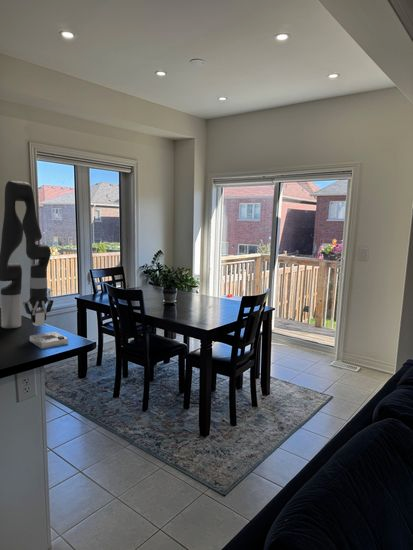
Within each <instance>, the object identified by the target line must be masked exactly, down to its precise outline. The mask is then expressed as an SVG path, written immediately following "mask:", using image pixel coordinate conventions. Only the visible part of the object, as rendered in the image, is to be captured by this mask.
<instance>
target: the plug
mask: <svg viewBox="0 0 413 550" xmlns="http://www.w3.org/2000/svg"><path fill="white" fill-rule="evenodd" d="M45 321H46V320H45V311H44V310H42V309H41V308H39V309H38V308H37V310H36V311H35V323H33V322H32V325H34V326H35V327H40V326H45V325H46V324H45Z"/></svg>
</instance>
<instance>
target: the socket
mask: <svg viewBox="0 0 413 550" xmlns="http://www.w3.org/2000/svg"><path fill="white" fill-rule="evenodd" d="M29 342H30V343H32V344H34V345H35V346H37V347H38V348H40V349H41V350H43V349H44V350H45V349H49V348H53V347H59V346H64V345H69V338H68V337H67V336H65V335H63V334H60V333H59V332H58V331H51V332H45V333H39V334H33V335H29Z"/></svg>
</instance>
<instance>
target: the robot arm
mask: <svg viewBox="0 0 413 550" xmlns="http://www.w3.org/2000/svg"><path fill="white" fill-rule="evenodd" d="M16 202H24V204H25V208H26V209H25V213H24V215H23V218H22V221H21V218H20V217H19V215H18V213H17V210H16ZM36 209H37V208H36V203H35V197H34V190H33V187H32V185H31V184H30V183H29V182H25V181H20V180H19V181H17V180H9V181H7V182H6V184H5V187H4V213H3V223H2V229H1V241H0V282H10V284H8V285H7V286H4V287H2V288H1V290H0V311H1V312H0V313H1V314H0V316H1V317H0V319H1V321H0V323H1V328H2V329H17V328H20V327H22V305H23V307H24V309H25V313H26V314H28V315H30V321H31V322H32V324H33V323H35V311H36V310H37V309H38V308H39V309H42V310H44V311H45V321H46V320H47V313H50V312H51V310H52V307H53V305H54V299H49V298H48V279H47V278H48V277H47V275H48V274H47V273H48V270H47V269H48V267H49V262H50V258H51V255H52V250H51V247H50V246H49V245H48V244H43V243H42V244H39V243H38V244H36V242H38V241H40V240H42V238H43V235H42V232H41V228H40V225H39V221H38V217H37V211H36ZM23 236H25V252H26V256H27V258H28V259H30V260H32V261H35V260H37V263H35V264H32V265H30V279H29V299H28V300H27V301H24V302H22V296H21V295H22V286H23V285H22V282H23V281H22V279H23V268H22V266H21V264H20V263H19V262H9V261H10V258H11V256H12V254H14V252H15V251H16V250H17V249H18V247H19V246H20V245H21V244H22V242H23ZM46 304H47V305H46ZM30 305H31V307H30Z"/></svg>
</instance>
